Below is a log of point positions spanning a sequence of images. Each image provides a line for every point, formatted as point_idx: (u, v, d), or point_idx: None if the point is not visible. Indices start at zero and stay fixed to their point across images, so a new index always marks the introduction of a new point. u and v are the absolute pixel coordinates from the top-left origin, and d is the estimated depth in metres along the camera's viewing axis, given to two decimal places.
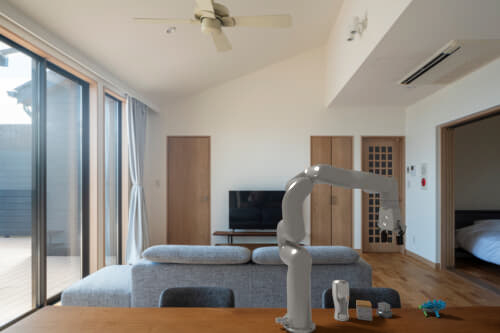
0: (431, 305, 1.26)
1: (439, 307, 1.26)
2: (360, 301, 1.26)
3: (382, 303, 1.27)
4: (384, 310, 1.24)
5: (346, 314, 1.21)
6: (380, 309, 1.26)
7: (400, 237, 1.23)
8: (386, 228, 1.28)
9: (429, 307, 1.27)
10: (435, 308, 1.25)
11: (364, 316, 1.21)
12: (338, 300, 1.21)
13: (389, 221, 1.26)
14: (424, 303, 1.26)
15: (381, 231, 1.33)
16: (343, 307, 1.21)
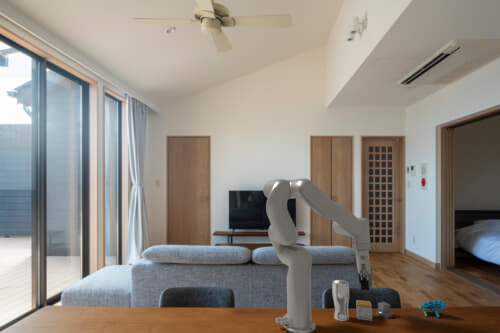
0: (431, 305, 1.26)
1: (439, 307, 1.26)
2: (360, 301, 1.26)
3: (382, 303, 1.27)
4: (384, 310, 1.24)
5: (346, 314, 1.21)
6: (380, 309, 1.26)
7: None
8: None
9: (429, 307, 1.27)
10: (435, 308, 1.25)
11: (364, 316, 1.21)
12: (338, 300, 1.21)
13: None
14: (424, 303, 1.26)
15: (367, 278, 1.21)
16: (343, 307, 1.21)
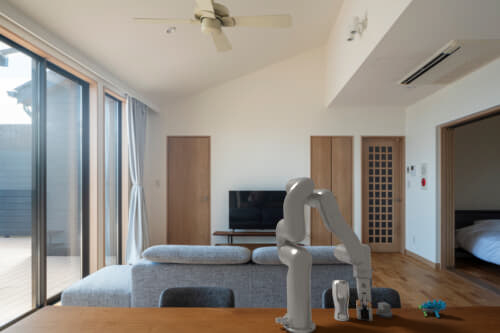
0: (431, 305, 1.25)
1: (439, 307, 1.26)
2: None
3: (382, 303, 1.27)
4: (384, 310, 1.24)
5: (346, 314, 1.21)
6: (380, 309, 1.26)
7: None
8: None
9: (429, 307, 1.27)
10: (435, 308, 1.25)
11: None
12: (338, 300, 1.21)
13: None
14: (424, 303, 1.26)
15: (367, 307, 1.21)
16: (343, 307, 1.21)
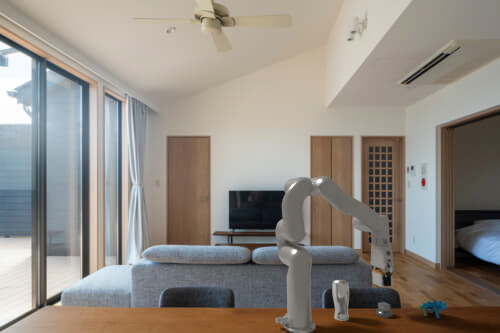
0: (431, 305, 1.25)
1: (440, 308, 1.26)
2: (377, 270, 1.29)
3: (382, 303, 1.27)
4: (384, 310, 1.24)
5: (346, 314, 1.21)
6: (380, 309, 1.26)
7: None
8: None
9: (429, 307, 1.26)
10: (435, 309, 1.25)
11: None
12: (338, 300, 1.21)
13: None
14: (424, 303, 1.26)
15: None
16: (343, 307, 1.21)
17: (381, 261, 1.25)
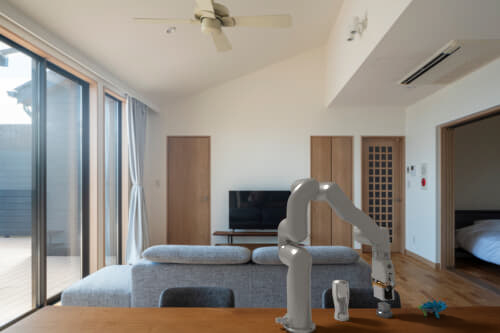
0: (431, 305, 1.25)
1: (440, 308, 1.25)
2: (378, 283, 1.29)
3: (382, 303, 1.27)
4: (384, 310, 1.24)
5: (346, 314, 1.21)
6: (380, 309, 1.26)
7: None
8: None
9: (429, 307, 1.26)
10: (435, 309, 1.24)
11: None
12: (338, 300, 1.21)
13: None
14: (424, 303, 1.26)
15: None
16: (343, 307, 1.21)
17: (382, 274, 1.25)
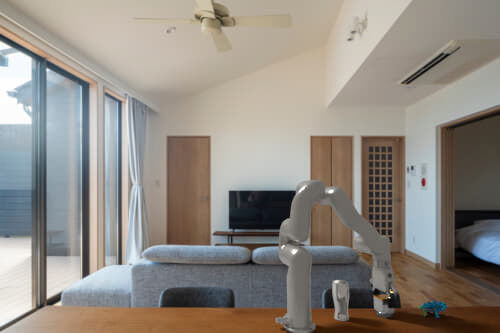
0: (431, 306, 1.25)
1: (440, 308, 1.25)
2: (378, 295, 1.28)
3: None
4: None
5: (346, 314, 1.21)
6: None
7: None
8: None
9: (429, 308, 1.26)
10: (435, 309, 1.24)
11: (388, 309, 1.24)
12: (338, 300, 1.21)
13: None
14: (423, 303, 1.25)
15: None
16: (343, 307, 1.21)
17: (382, 283, 1.24)
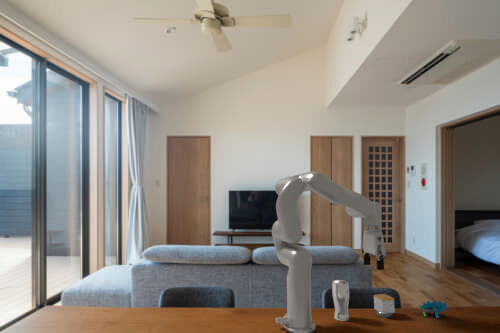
0: (431, 306, 1.25)
1: (440, 308, 1.25)
2: (379, 295, 1.28)
3: None
4: None
5: (346, 314, 1.21)
6: None
7: None
8: None
9: (429, 308, 1.26)
10: (435, 309, 1.24)
11: (388, 309, 1.24)
12: (338, 300, 1.21)
13: None
14: (423, 303, 1.25)
15: None
16: (343, 307, 1.21)
17: (372, 246, 1.28)
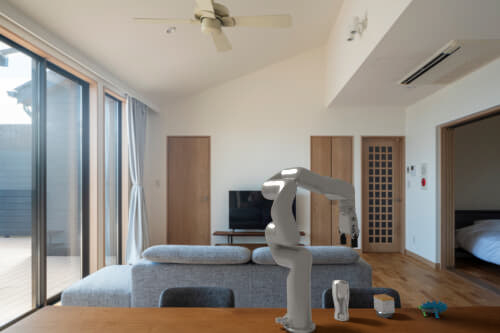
0: (431, 306, 1.25)
1: (440, 308, 1.25)
2: (379, 295, 1.28)
3: None
4: None
5: (346, 314, 1.21)
6: None
7: None
8: None
9: (429, 308, 1.26)
10: (435, 309, 1.24)
11: (388, 309, 1.24)
12: (338, 300, 1.21)
13: None
14: (423, 303, 1.25)
15: None
16: (343, 307, 1.21)
17: (347, 226, 1.36)
